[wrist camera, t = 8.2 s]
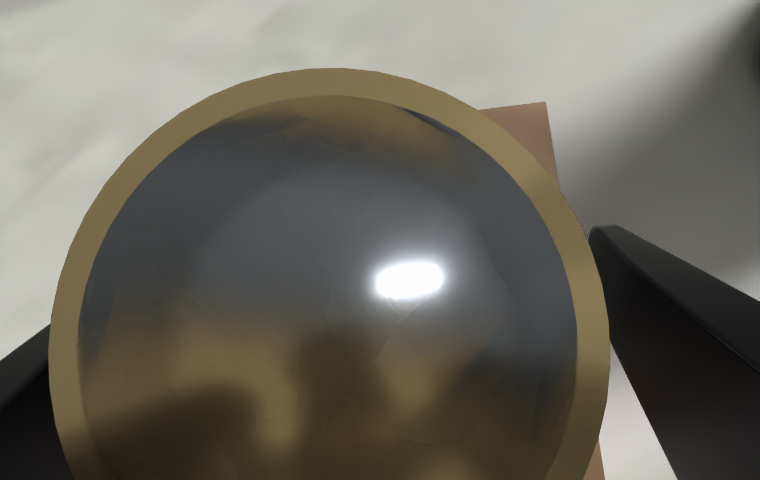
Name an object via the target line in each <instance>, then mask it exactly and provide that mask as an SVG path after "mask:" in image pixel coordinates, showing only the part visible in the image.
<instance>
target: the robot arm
mask: <svg viewBox="0 0 760 480" xmlns="http://www.w3.org/2000/svg"><path fill="white" fill-rule="evenodd" d="M588 244H589V246H590V248H591V251H592V254H593V257H594V260H595V264H596V267H597V270H598V273H599V276H600V280H601V283H602V287H603V293H604V298H605V304H606V310H607V315H608V321H609V339H610V342H611V344H612V346H613V348H614V350H615V352H616V354H617V357H618V359H619V361H620V363H621V365H622V367H623V369H624V371H625V373H626V375H627V377H628V379H629V381H630V383H631V385H632V387H633V389H634V391H635V393H636V395H637V398H638V400H639V402H640V404H641V406H642V408H643V410H644V412H645V414H646V416H647V418H648V420H649V422H650V424H651V426H652V428H653V430H654V432H655V434H656V436H657V439H658V441H659V443H660V445H661V447H662V449H663V451H664V453H665V455H666V457H667V459H668V461H669V463H670V465H671V467H672V469H673V471H674V473H675V475H676V477H677V480H760V301H758V300H756V299H754V298H752V297H750V296H748V295H747V294H745V293H743V292H741V291H739V290H737V289H735V288H733V287H732V286H730V285H728V284H726V283H724V282H722V281H720V280H719V279H717V278H715V277H713V276H711V275H709V274H707V273H706V272H704V271H702V270H700V269H698V268H696V267H694V266H692V265H691V264H689V263H687V262H685V261H683V260H681V259H679V258H678V257H676V256H674V255H672V254H670V253H668V252H666V251H665V250H663V249H661V248H659V247H657V246H655V245H653V244H652V243H650V242H648V241H646V240H644V239H642V238H640V237H638V236H637V235H635V234H633V233H631V232H629V231H627V230H625V229H624V228H622V227H620V226H618V225H615V224H609V225H600V226H595V227H593V228H592V229H591V231H590V234H589V239H588ZM50 325H51V323H50V324H49V325H48V326H46V327H45V328H44V329H42V330H41V331H40V332H38V333H37V334H36V335H34V336H33V337H32V338H30V339H29V340H28V341H26V342H25V343H23V344H22V345H21V346H19V347H18V348H17V349H15V350H14V351H13V352H11V353H10V354H9V355H7V356H6V357H5V358H3V359H2V360H1V361H0V480H75V479H74V477H73V475H72V472H71V470H70V468H69V466H68V463H67V461H66V458H65V455H64V451H63V448H62V445H61V441H60V438H59V435H58V431H57V428H56V424H55V418H54V412H53V406H52V400H51V394H50V386H49V359H48V348H49V336H50Z"/></svg>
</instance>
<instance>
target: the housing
mask: <svg viewBox="0 0 760 480" xmlns="http://www.w3.org/2000/svg"><path fill="white" fill-rule="evenodd" d="M48 359H49V386H50V394H51V400H52V406H53V412H54V418H55V424H56V428H57V431H58V435H59V438H60V441H61V445H62V448H63V451H64V455H65V458H66V461H67V463H68V466H69V468H70V470H71V472H72V475H73V477H74V479H75V480H583V478H584V476H585V473H586V471H587V468H588V465H589V462H590V460H591V457H592V454H593V452H594V449H595V446H596V444H597V441H598V438H599V433H600V429H601V424H602V420H603V416H604V411H605V407H606V402H607V394H608V383H609V371H610V341H609V321H608V315H607V310H606V304H605V298H604V293H603V287H602V283H601V280H600V276H599V273H598V270H597V267H596V264H595V260H594V257H593V254H592V251H591V248H590V246H589V244H588V241H587V239H586V237H585V235H584V233H583V231H582V228H581V226H580V224H579V222H578V220H577V218H576V216H575V214H574V212H573V210H572V209H571V207H570V206H569V204H568V202H567V201H566V199H565V198H564V196H563V195H562V193H561V191H560V190H559V188H558V187H557V185H556V184H555V182H554V181H553V180H552V179H551V177H550V176H549V175H548V174H547V172H546V171H545V170H544V169H543V168H542V166H541V165H540V164H539V163H538V162H537V160H536V159H535V158H534V157H533V156H532V154H530V153H529V152H528V151H527V150H526V149H525V148H524V147H523V146H522V145H521V144H520V143H519V142H518V141H516V140H515V139H514V138H513V137H512V136H511V135H510V134H509V133H508V132H507V131H506V130H505V129H503V128H502V127H500V126H499V125H497V124H496V123H495V122H493V121H492V120H490V119H489V118H488V117H486V116H485V115H483V114H482V113H481V112H479V111H478V110H476V109H475V108H473V107H471V106H469V105H467V104H465V103H464V102H462V101H460V100H458V99H456V98H454V97H452V96H450V95H449V94H447V93H445V92H442V91H440V90H437V89H434V88H432V87H429V86H426V85H424V84H421V83H419V82H416V81H413V80H410V79H406V78H402V77H397V76H393V75H389V74H385V73H381V72H375V71H366V70H357V69H347V68H321V69H304V70H297V71H290V72H283V73H276V74H272V75H268V76H265V77H261V78H257V79H254V80H250V81H246V82H243V83H240V84H238V85H235V86H233V87H230V88H228V89H226V90H223V91H221V92H218V93H216V94H214V95H211V96H209V97H207V98H206V99H204V100H202V101H200V102H199V103H197V104H195V105H193V106H191V107H190V108H188V109H186V110H184V111H183V112H181V113H179V114H178V115H177V116H175V117H174V118H173V119H171V120H170V121H169V122H167V123H166V124H164V125H163V126H162V127H160V128H159V129H158V130H156V131H155V132H154V133H152V134H151V135H150V136H149V137H148V138H147V139H146V140H145V141H144V142H143V143H142V144H141V145H140V146H139V147H138V148H137V149H135V150H134V151H133V152H132V153H131V154H130V155H129V156H128V157H127V158H126V159H125V161H124V162H123V163H122V164H121V165H120V167H119V168H118V169H117V170H116V171H115V173H114V174H113V175H112V176H111V177H110V179H109V180H108V181H107V182H106V184H105V185H104V186H103V188H102V190H101V191H100V193H99V194H98V196H97V197H96V199H95V200H94V202H93V204H92V205H91V207H90V208H89V210H88V211H87V213H86V215H85V217H84V219H83V221H82V223H81V225H80V227H79V229H78V231H77V233H76V235H75V237H74V239H73V242H72V244H71V246H70V249H69V251H68V254H67V257H66V260H65V263H64V266H63V269H62V272H61V275H60V278H59V281H58V286H57V291H56V295H55V300H54V305H53V310H52V314H51V325H50V336H49V348H48Z"/></svg>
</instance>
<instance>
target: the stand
mask: <svg viewBox="0 0 760 480" xmlns="http://www.w3.org/2000/svg"><path fill="white" fill-rule="evenodd" d="M478 111H479V112H481V113H482V114H483V115H485V116H486V117H488V118H489V119H490V120H492V121H493V122H495V123H496V124H497V125H499V126H500V127H502V128H503V129H505V130H506V131H507V132H508V133H509V134H510V135H511V136H512V137H513V138H514V139H515V140H516V141H518V142H519V143H520V144H521V145H522V146H523V147H524V148H525V149H526V150H527V151H528V152H529V153H530V154H532V156H533V157H534V158H535V159H536V160H537V162H538V163H539V164H540V165H541V166H542V168H543V169H544V170H545V171H546V172H547V174H548V175H549V176H550V177H551V179H552V180H553V181H554V182H555V184H556V185H557V187H558V188H559V184H558V177H557V171H556V165H555V158H554V152H553V146H552V139H551V133H550V126H549V120H548V114H547V107H546V102H539V103H531V104H523V105H515V106H507V107H499V108H491V109H483V110H478ZM583 480H605V477H604V470H603V464H602V458H601V451H600V445H599V439H598V441H597V444H596V446H595V449H594V452H593V454H592V457H591V460H590V462H589V465H588V468H587V471H586V473H585V476H584V478H583Z"/></svg>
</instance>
